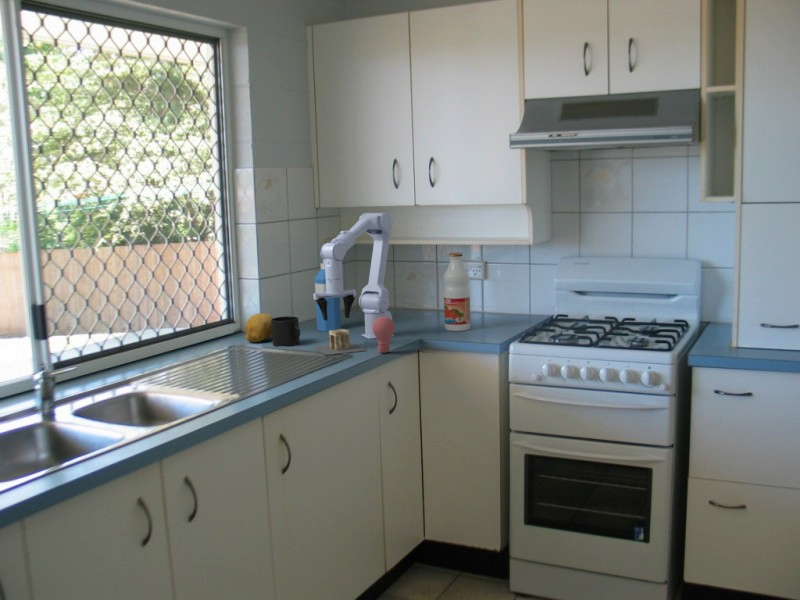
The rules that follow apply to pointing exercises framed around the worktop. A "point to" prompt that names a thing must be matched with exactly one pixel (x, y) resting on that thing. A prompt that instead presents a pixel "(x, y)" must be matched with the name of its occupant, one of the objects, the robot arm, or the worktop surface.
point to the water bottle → (332, 305)
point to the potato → (258, 327)
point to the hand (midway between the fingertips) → (336, 318)
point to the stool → (335, 339)
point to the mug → (285, 331)
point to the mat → (329, 351)
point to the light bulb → (383, 332)
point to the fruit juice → (456, 295)
